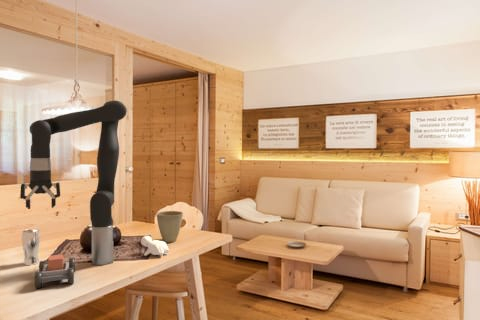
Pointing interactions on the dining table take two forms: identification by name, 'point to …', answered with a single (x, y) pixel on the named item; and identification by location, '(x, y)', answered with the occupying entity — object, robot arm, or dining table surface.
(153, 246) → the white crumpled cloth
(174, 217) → the plant pot
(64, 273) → the chassis
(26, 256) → the beer glass
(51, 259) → the terracotta rectangular box
